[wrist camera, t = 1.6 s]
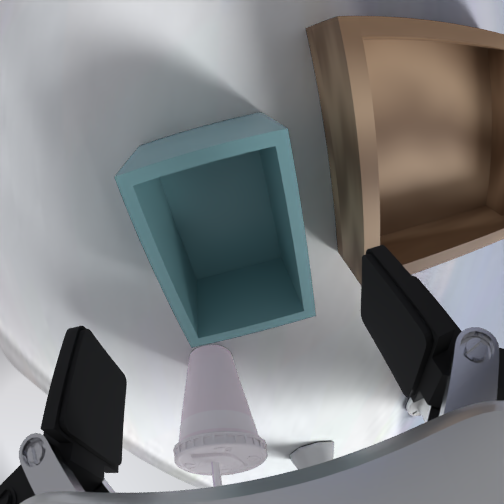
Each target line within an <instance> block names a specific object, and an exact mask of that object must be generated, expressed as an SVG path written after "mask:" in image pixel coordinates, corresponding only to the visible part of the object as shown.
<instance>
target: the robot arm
mask: <svg viewBox="0 0 504 504" xmlns="http://www.w3.org/2000/svg"><path fill="white" fill-rule="evenodd" d="M361 317H362V320H363V323H364V324H365V326H366V328H367V330H368V331H369V333H370V335H371V336H372V338H373V340H374V342H375V343H376V345H377V347H378V349H379V350H380V352H381V354H382V356H383V357H384V359H385V361H386V363H387V365H388V366H389V368H390V370H391V372H392V374H393V375H394V377H395V379H396V381H397V383H398V384H399V386H400V388H401V390H402V392H403V394H404V395H405V396H406V397H409V396H410V399H409V400H408V402H407V405H406V409H407V411H408V413H409V415H411V416H422V417H423V419H424V421H425V423H423V424H421V425H419V426H417V427H415V428H412V429H410V430H408V431H406V432H404V433H401V434H399V435H397V436H394V437H392V438H389V439H387V440H384V441H382V442H379V443H377V444H374V445H372V446H369V447H367V448H364V449H361V450H359V451H356V452H353V453H350V454H348V455H345V456H342V457H339V458H336V459H333V460H330V461H326V462H323V463H320V464H317V465H313V466H310V467H306V468H303V469H299V470H295V471H291V472H287V473H283V474H279V475H275V476H271V477H266V478H261V479H257V480H252V481H246V482H241V483H235V484H229V485H223V486H216V487H208V488H200V489H191V490H180V491H168V492H147V493H115V491H114V490H113V489H112V488H111V486H110V485H109V484H108V482H107V481H106V480H105V478H104V472H105V473H118V465H120V464H121V461H122V440H123V422H124V408H125V396H126V385H127V382H126V377H125V375H124V374H123V372H122V371H121V370H120V369H119V367H118V366H117V365H116V364H115V362H114V361H113V360H112V359H111V357H110V356H109V355H108V353H107V352H106V351H105V350H104V348H103V347H102V346H101V344H100V343H99V342H98V340H97V339H96V338H95V336H94V335H93V333H92V332H91V331H90V330H89V329H86V328H85V327H84V326H79V327H74V328H70V329H68V330H67V332H66V334H65V337H64V341H63V344H62V347H61V350H60V354H59V357H58V360H57V364H56V367H55V371H54V375H53V378H52V382H51V386H50V390H49V394H48V398H47V402H46V406H45V411H44V415H43V420H42V425H41V429H42V430H43V431H44V434H43V435H41V434H38V433H35V434H31V435H29V436H28V437H27V438H26V439H25V440H24V441H23V443H22V445H21V447H20V451H19V459H20V463H21V465H20V466H19V467H18V468H17V469H16V470H15V471H14V472H13V473H12V474H11V475H10V476H9V477H8V478H7V479H6V480H5V481H4V482H3V483H2V484H1V485H0V504H504V349H502V348H499V345H498V342H497V340H496V338H495V337H494V336H493V335H492V334H491V333H490V332H489V331H487V330H485V329H482V328H479V327H471V328H468V329H465V330H464V331H461V330H460V329H459V327H458V326H457V325H456V324H455V322H454V321H453V320H452V319H451V317H450V316H449V315H448V314H447V312H446V311H445V310H444V309H443V307H442V306H441V305H440V304H439V303H438V301H437V300H436V299H435V298H434V297H433V295H432V294H431V293H430V292H429V291H428V290H427V288H426V287H425V286H424V285H423V284H422V283H421V281H420V280H419V279H418V278H417V277H415V276H411V274H410V273H409V272H408V271H407V270H406V269H405V268H404V266H403V265H402V264H401V263H400V262H399V261H398V260H397V259H396V257H395V256H394V255H393V254H392V253H391V252H390V251H389V250H388V249H387V248H386V247H385V246H384V245H380V246H377V247H373V248H370V249H367V251H366V255H363V256H362V289H361Z"/></svg>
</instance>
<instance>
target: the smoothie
mask: <svg viewBox="0 0 504 504" xmlns="http://www.w3.org/2000/svg"><path fill="white" fill-rule="evenodd" d="M266 446H267V444H266V442H265V440H264V439H262V438H261V437H259V435H258V432H257V429H256V426H255V423H254V420H253V418H252V415H251V412H250V409H249V406H248V403H247V400H246V397H245V394H244V391H243V388H242V385H241V382H240V379H239V375H238V372H237V369H236V366H235V363H234V360H233V357H232V354H231V352H230V351H229V350H228V349H226V348H225V347H222V346H219V345H204V346H201V347H198V348H196V349H195V350H194V351H192V353H191V354H190V357H189V363H188V370H187V378H186V385H185V393H184V401H183V409H182V417H181V425H180V434H179V442H178V443H177V444H176V445H175V447H174V450H173V451H174V456H175V463H176V465H177V466H178V467H179V468H181V469H183V470H185V471H188V472H191V473H195V474H201V475H212V477H213V486H214V487H216V486H222V480H221V475H229V474H236V473H240V472H244V471H248V470H250V469H253V468H255V467H257V466H259V465H261V464H262V463H263V462H264V461H265V460H266V459H267V456H268V454H267V450H266Z"/></svg>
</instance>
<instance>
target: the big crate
mask: <svg viewBox="0 0 504 504" xmlns="http://www.w3.org/2000/svg"><path fill="white" fill-rule="evenodd" d="M306 32H307V37H308V41H309V46H310V51H311V55H312V60H313V65H314V71H315V76H316V81H317V87H318V92H319V98H320V104H321V110H322V116H323V123H324V129H325V136H326V143H327V150H328V158H329V166H330V174H331V182H332V191H333V201H334V211H335V221H336V233H337V245H338V253H339V254H340V255H341V257H342V258H343V260H344V261H345V263H346V264H347V265H348V267H349V268H350V270H351V271H352V273H353V274H354V276H355V277H356V279H357V280H358V281H359V283H360V284H361V286H362V256H363V255H366V251H367V249H370V248H373V247H377V246H380V245H384V246H385V247H386V248H387V249H388V250H389V251H390V252H391V253H392V254H393V255H394V256H395V257H396V259H397V260H398V261H399V262H400V263H401V264H402V265H403V266H404V268H405V269H406V270H407V271H408V272H409V273H410V274H414V273H417V272H420V271H422V270H425V269H428V268H431V267H433V266H436V265H439V264H441V263H444V262H447V261H449V260H452V259H455V258H457V257H460V256H462V255H465V254H468V253H470V252H473V251H475V250H478V249H480V248H483V247H485V246H487V245H490V244H492V243H495V242H497V241H500V240H502V239H504V34H500V33H496V32H492V31H488V30H483V29H479V28H474V27H469V26H464V25H458V24H452V23H446V22H439V21H432V20H423V19H413V18H401V17H383V16H337V17H334V18H331V19H329V20H326V21H323V22H321V23H318V24H315V25H313V26H310V27H308V28H306Z"/></svg>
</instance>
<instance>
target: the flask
mask: <svg viewBox="0 0 504 504" xmlns="http://www.w3.org/2000/svg"><path fill="white" fill-rule="evenodd" d="M333 455H334V442H318V443H314V444H311V445H307V446H304V447H300V448H298V449H297V450H296V451H295V452H293V453H292V454H291V455H290V458H291V461H292V462H293V463H294V465H295V466H296V467H297V469H298V470H299V469H303V468H306V467H310V466H313V465H317V464H320V463H323V462H326V461H330V460H333Z"/></svg>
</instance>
